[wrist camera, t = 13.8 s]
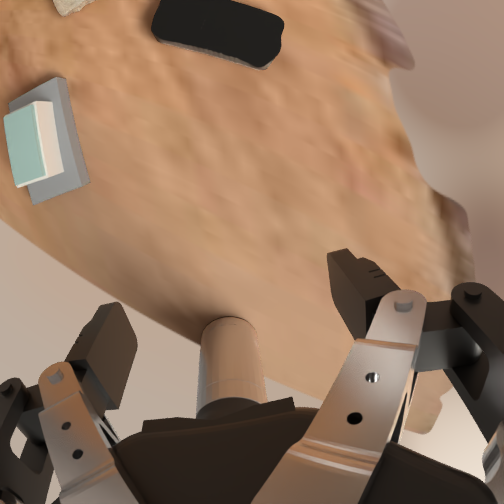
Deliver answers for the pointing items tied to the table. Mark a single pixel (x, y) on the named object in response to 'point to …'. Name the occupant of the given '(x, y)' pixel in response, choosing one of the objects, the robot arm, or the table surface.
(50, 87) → the stand
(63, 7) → the curved stone fragment
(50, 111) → the block
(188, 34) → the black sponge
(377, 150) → the table surface
